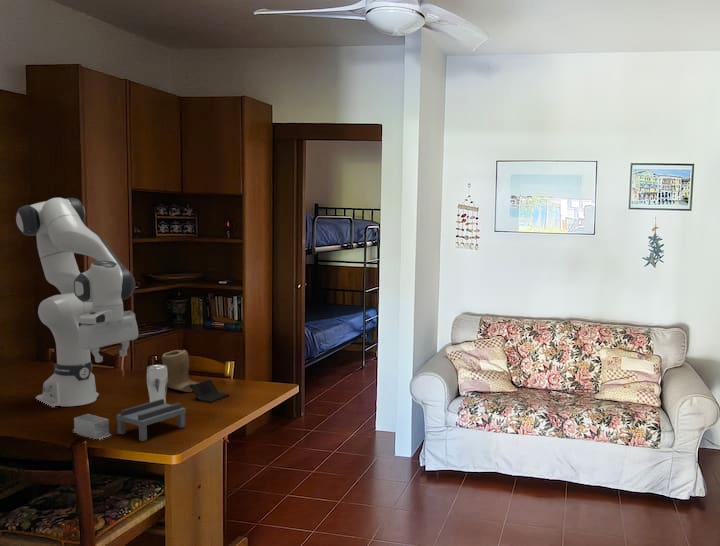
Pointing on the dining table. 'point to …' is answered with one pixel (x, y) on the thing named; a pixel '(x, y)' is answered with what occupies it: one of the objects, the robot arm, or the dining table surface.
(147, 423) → the stand
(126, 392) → the dining table surface
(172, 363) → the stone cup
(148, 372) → the beer glass
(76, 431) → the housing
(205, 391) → the dark grey angled bracket
